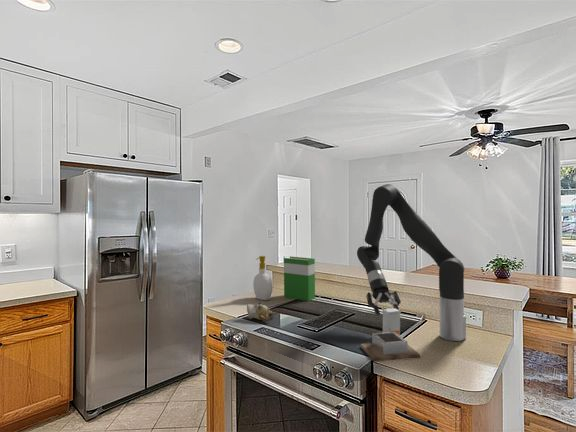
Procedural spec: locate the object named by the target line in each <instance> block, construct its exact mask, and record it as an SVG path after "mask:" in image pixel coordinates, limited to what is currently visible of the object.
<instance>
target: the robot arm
mask: <svg viewBox="0 0 576 432" xmlns="http://www.w3.org/2000/svg"><path fill="white" fill-rule="evenodd" d="M371 201H372V202H371V210H370V218H369V222H368V227H367V230H366V233H365V236H364V242H365V243H366V244H367V245H368V246H364V245H363V246H359V247H358V248H357V251H356V255H357V258H358V260H359V262H360V264H361V265H362V267H363V268H364V269H365V272H366V275H367V281H368V284H369V286H370V290H371V293H370V292H369V291H368V292H367V293H366V296H365V297H366V301H367V305H368V307H369V308H373V310H374V314H375V315H376V316H380V315H381V312H380V309H379V305H378V304H379V303H380V304H382V303H385V304H386V303H388V305H391V306H392V308H395V309H397V310H399V311H400V308H399V306H400V304H401V302H402V301H401V299H400V297H399V294H398V291H396V290H394V291H393V292H391V291H390V289H389V287H388V284H387V280H386V278H385V274H384V272H383V271H382V268H381V265H380V263H379V262H378V261H377V260H378V258H379V257H380V241H381V237H382V235H383V230H384V215H385V213H386V211H387V207H388V206H389V207H390V208H391V209H392V210H393V211H394V212H395V213H396V215H397V216H398V219H399V221H400V224H401V226H402V229H403V232H404V233H405V234H406V235H407V236H408V237H409V238H410V240H411V241H412V242H413V243H414V245H416V246H418V247H419V248H420V249H421V250H423V251H424V252H425V253H426V254H428V256H430V257H431V259H432V260H433V261H434V262H435V263H436V264H435V265H437V267H438V288H439V289H438V290H439V337H440V338H442V339H444V340H446V341H451V342H461V341H463V340H467V316H466V315H465V311H464V310H465V307H464V306H465V290H464V289H465V287H464V286H465V285H464V282H465V279H464V278H465V277H464V276H465V265H464V264H463V263H462V261H461V260H460V259H459V258H457V256H455V255H454V254H453V253H452V252H451V251H450V250H449V249H448V248H447V247H446V246H445V245H444V244H443V242H442V241H441V240H440V238H439V237H438V236H437V235H436V233H435V232H434V231H433V230H432V228H431V227H430V226H429V225H428V223H427V222H425V220H424V219H422V217H421V216H420V215H419V214H418V213H417V212H416V211H415V209H414V208H413V207H412V206H411V205H410V204H409V203H408V201H407V200H406V199H405V197H404V196H403V194H402V193H401V192H400V190H399V189H398V188H397V187H396V186H395V185H393V184H390V183H387V184H383V185H381V186H378V187H377V188H376V189H374V191H373V193H372V200H371ZM369 245H370V246H369ZM372 298H373V299H375V300H374V302H373V299H372Z"/></svg>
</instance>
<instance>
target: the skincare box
mask: <svg viewBox="0 0 576 432" xmlns="http://www.w3.org/2000/svg"><path fill="white" fill-rule="evenodd" d="M383 332H396V333H397V334H398V335H399V336H401V310H400V309H399V310H397V309H395V308H393V307H392V308H386V309H385V308H384V309H382V333H383Z"/></svg>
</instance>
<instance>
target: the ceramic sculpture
mask: <svg viewBox="0 0 576 432" xmlns="http://www.w3.org/2000/svg"><path fill="white" fill-rule="evenodd" d="M246 311H247V314H248V319H250V320H251V319H256V320H259V321H263V322H269V321H272V318H270V317H273V316H277V315H278V312H274V311H272V310H270V308H269V307H268V306H267V305H266V304H262V302H258V303H256V304H254V305H253V304H249V303H247V304H246Z"/></svg>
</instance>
